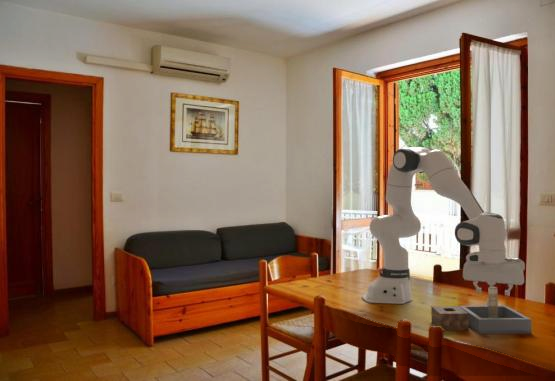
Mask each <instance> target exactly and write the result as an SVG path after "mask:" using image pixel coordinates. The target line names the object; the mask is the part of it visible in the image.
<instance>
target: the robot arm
mask: <svg viewBox="0 0 555 381" xmlns="http://www.w3.org/2000/svg"><path fill="white" fill-rule="evenodd" d="M392 156H393V157H392V163H391V165H390V168H389V171H388V174H387V180H386V189H385V190H386V191H385V193H386V194H385V202H386V203H387V204H388V205H389V206H391V207H392V210H393V211H392V212H393V214H382V215H379V216H376V217H373V218H372V219H371V220H370V223H369V231H370V234H371V235H372V236H373V237H374V238H375V239H376V240H377V241H378V243H379V244H380V246H381V249H382V254H383V257H382V258H383V267H382V268H381V267H377V269H376V271H377V272H378V274H379V275H378V276H377V277H376V278H375V279H374V280H372V281H371V282H370V283H369V284H368V286H367V291H366V293H363V294H362V300H363V301H365V302H366V303H373V304H375V303H376V304H395V305H397V304H398V305H403V304H406V303H409V302H412V301H413V295H412V292H411V285H410V278H411V270H410V268H409V252H408V250H407V249H406V248H404V247H403V246H402V245H401V243H400V239H403V238H410V237H414V236H417V235H418V234H419V233H420V231H421V228H422V224H421V221H420V219H419V217H418V216H417V215H416V214H415V212H414V210H413V207H412V189H413V178H414V176H415V174H417V173H419V174H422V173H425V176H426V177H427V179H428V181H429V184H430V186H431V188H432V189H433V190H434V193H436V194H437V195H439V196H441V197H443V198H447V199H450V200H452V201H454V202H456V204H458V205H459V206H460V207H461V208H462V210H463V212H464V213H465V215H466V216H467V218H468V219H467V220H464V221H461V222H459V223H457V225H456V226H455V227H454V228H455V229H454V236H455V239H456V241H457V242H458V244H460V245H462V246H468V247H470V246H478V251H474V252H471V253H468V254H467V255H466V256H465V260H466V261H465V263H464V264H463V268H462V269H463V270H462V278H463V279H464V281H472V283H473V286H474V287H475V289H476V294H482V287H480V286H479V285H478V283H479V282H483V283H484V282H485V283H487V282H493V283H497V284H504V285H505V284H506V285H507V287H508V289H505V290H504V296H505V297H510V294H511V293H510V292H511V290H512V289H513V288H514V287H513V286H514V285H518V286H522V285H523V284H524V283H525V276H524V275H525V274H524V271H525V269H526V264H525V261H523V260H522V259H521V258H513V257H512V258H511V257H507V255H506V254H507V249H506V245H505V243H506V242H505V241H506V236H507V235H506V224H505V219H504V218H503V216H502V215H500V214H499V213H494V212H485V211H484V210H483V208H482V207H481V205H480V203H479V202H478V200H477V198H476V197H475V195H474V194H473V193H472V191H471V190H470V189H469V187H468V186H467V185H466V184H465V183H464V181H463V180H462V179H461V177H460V176H459V173H458V172H457V170H456V168H455V167H454V165H453V163H452V161H451V160H450V158H449V157H448V156H447V154H446V153H445V152H444V151H443V150H440V149H433V148H431V147H423V146H422V147H421V146H415V147H414V146H413V147H403V148H402V147H401V148H399V149H396V151H395V152H394V153H393V155H392Z"/></svg>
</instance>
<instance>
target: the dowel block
mask: <svg viewBox="0 0 555 381" xmlns="http://www.w3.org/2000/svg"><path fill="white" fill-rule="evenodd" d="M459 306H460V305H431V309H430V311H431V323H432V324H433V325H434V324H435V325H437V326H441V327H442V328H443V329H444V330H443V331H469V328H470V326H469V317H468V313H467V312H466V311H464V310H463V309H461V308H460V307H459ZM435 325H434V326H435Z"/></svg>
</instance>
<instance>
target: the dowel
mask: <svg viewBox="0 0 555 381" xmlns="http://www.w3.org/2000/svg"><path fill="white" fill-rule="evenodd" d="M487 288H488V299H489V318H498V306H499V304H498V302H499V301H498V293H499V292H498V287H497V286H493V287H490V286H488V287H487Z"/></svg>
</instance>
